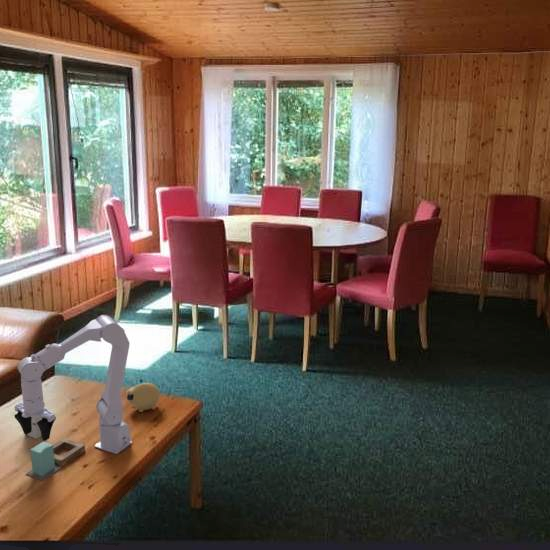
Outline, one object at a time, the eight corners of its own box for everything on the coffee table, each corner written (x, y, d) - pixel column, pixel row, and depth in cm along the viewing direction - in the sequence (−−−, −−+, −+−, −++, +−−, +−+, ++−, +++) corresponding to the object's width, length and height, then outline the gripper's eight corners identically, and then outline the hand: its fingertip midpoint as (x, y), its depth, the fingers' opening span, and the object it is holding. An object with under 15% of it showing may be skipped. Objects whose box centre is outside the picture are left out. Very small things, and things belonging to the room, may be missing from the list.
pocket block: (85, 450, 192) (84, 445, 191) (61, 466, 183) (61, 460, 183) (64, 443, 196) (64, 437, 195) (40, 459, 187) (40, 452, 187)
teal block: (55, 467, 182) (52, 444, 180) (42, 476, 178) (39, 453, 176) (45, 464, 184) (43, 441, 182) (32, 472, 180) (30, 449, 177)
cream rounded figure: (129, 402, 223) (128, 377, 221) (161, 402, 224) (160, 376, 221) (124, 416, 214) (123, 389, 211) (158, 415, 215) (157, 388, 212)
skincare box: (24, 434, 201) (21, 402, 198) (35, 428, 205) (32, 397, 201) (37, 439, 198) (33, 407, 195) (47, 433, 202) (44, 401, 198)
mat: (60, 468, 182) (60, 467, 182) (42, 481, 176) (42, 480, 176) (44, 462, 185) (44, 461, 185) (26, 474, 179) (26, 473, 179)
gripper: (4, 396, 177) (9, 436, 181) (40, 407, 171) (44, 448, 175) (23, 387, 183) (27, 426, 187) (58, 397, 177) (62, 437, 181)
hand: (37, 436), depth 181 cm, fingers open, 7 cm apart
